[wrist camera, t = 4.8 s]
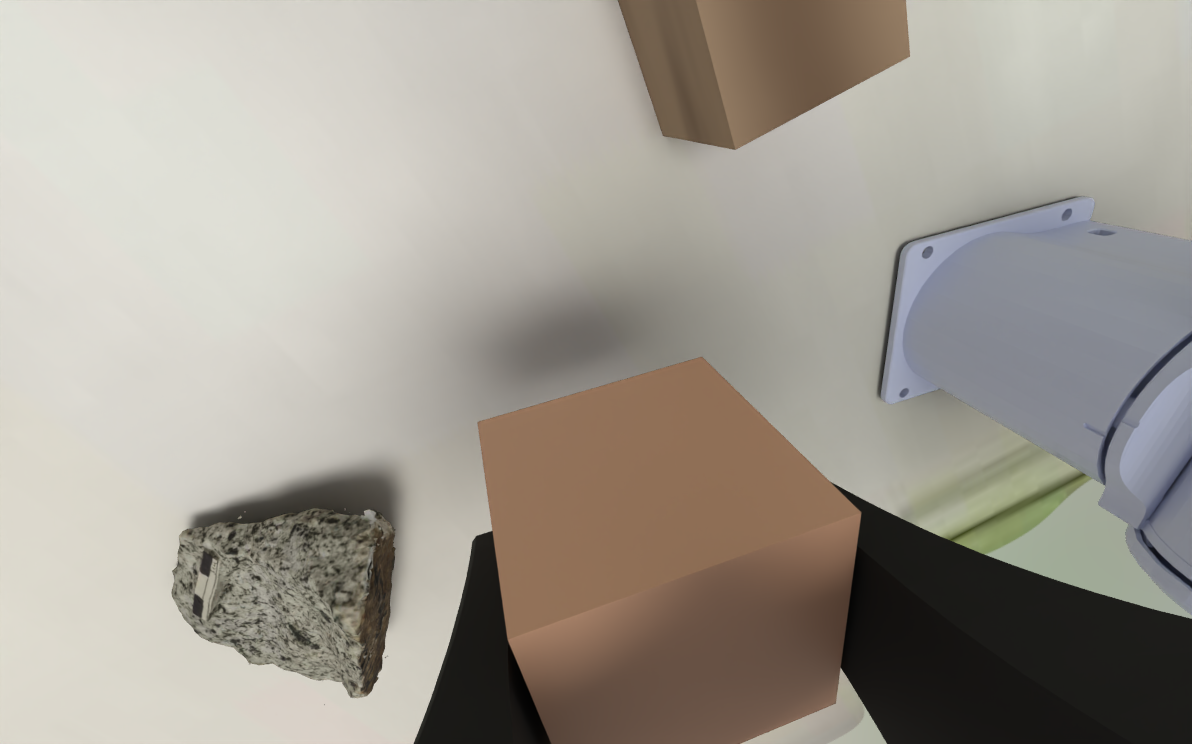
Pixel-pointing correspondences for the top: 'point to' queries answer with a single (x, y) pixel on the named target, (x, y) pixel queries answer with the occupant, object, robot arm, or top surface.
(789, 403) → the top surface
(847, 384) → the top surface
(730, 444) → the terracotta block
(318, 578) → the rock sample
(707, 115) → the walnut block
